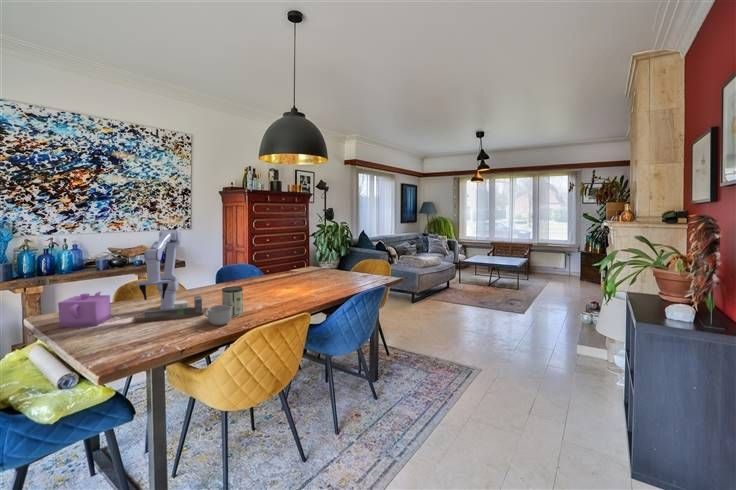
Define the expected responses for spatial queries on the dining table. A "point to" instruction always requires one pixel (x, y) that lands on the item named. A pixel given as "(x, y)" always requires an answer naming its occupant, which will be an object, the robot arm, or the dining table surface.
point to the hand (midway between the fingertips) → (154, 298)
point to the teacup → (218, 314)
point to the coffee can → (233, 299)
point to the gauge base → (172, 312)
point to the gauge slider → (180, 304)
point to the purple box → (84, 310)
